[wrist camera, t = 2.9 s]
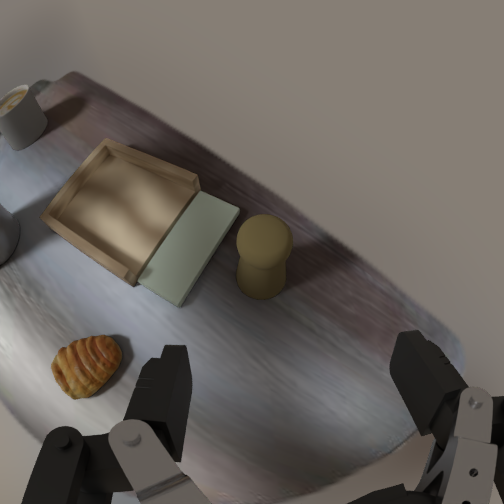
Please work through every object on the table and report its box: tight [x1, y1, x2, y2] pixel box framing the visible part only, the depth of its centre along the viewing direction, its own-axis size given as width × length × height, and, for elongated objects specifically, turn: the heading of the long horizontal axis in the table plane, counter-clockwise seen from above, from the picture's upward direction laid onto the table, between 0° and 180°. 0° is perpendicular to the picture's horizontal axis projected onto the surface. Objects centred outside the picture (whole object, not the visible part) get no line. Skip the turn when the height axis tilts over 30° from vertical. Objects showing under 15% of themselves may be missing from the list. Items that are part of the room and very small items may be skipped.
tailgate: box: [137, 191, 240, 308], centre depth 38 cm, size 14×1×6 cm
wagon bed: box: [39, 138, 201, 287], centre depth 39 cm, size 16×18×4 cm
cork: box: [236, 214, 293, 300], centre depth 32 cm, size 6×6×11 cm
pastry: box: [51, 335, 122, 399], centre depth 31 cm, size 9×7×4 cm
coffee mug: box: [0, 85, 47, 150], centre depth 45 cm, size 13×10×10 cm
